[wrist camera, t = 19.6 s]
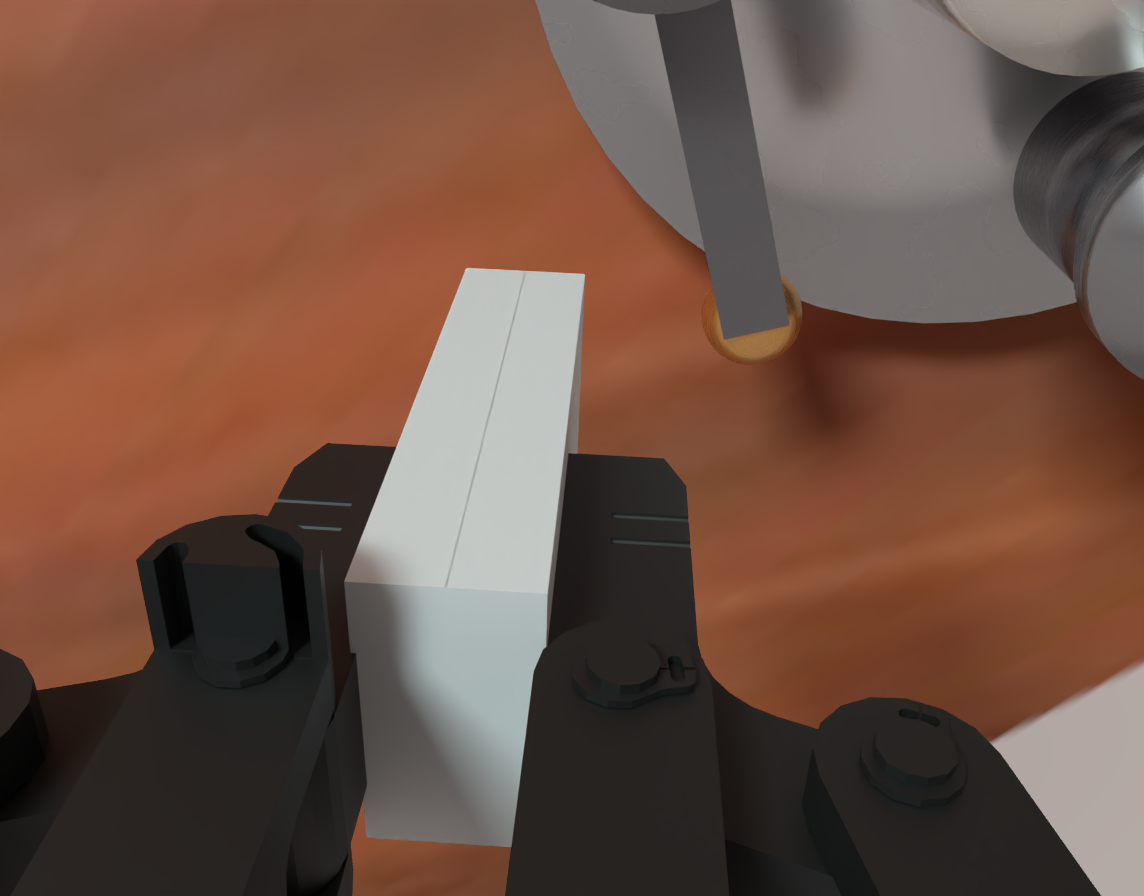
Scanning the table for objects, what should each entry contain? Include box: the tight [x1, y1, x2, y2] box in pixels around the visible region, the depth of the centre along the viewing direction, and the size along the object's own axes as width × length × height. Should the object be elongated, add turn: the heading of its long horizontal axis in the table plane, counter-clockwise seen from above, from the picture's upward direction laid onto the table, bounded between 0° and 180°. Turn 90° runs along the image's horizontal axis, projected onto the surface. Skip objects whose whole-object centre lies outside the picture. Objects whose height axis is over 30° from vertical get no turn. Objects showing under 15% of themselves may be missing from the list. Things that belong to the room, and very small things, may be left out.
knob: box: [593, 0, 803, 365], centre depth 21 cm, size 13×5×6 cm, turn 15°
